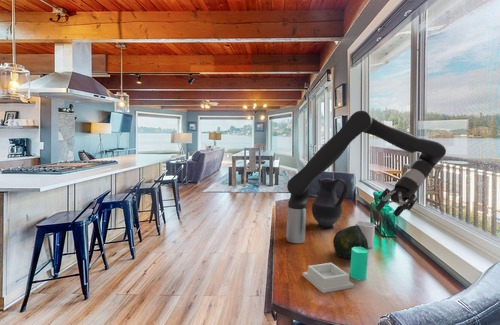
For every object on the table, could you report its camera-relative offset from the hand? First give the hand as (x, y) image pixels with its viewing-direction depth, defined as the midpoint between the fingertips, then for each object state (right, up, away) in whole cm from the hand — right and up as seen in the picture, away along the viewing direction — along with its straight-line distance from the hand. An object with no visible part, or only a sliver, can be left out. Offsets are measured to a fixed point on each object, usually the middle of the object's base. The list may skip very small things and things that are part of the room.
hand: (386, 212), depth 113 cm
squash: (-8, -23, +17) cm, 30 cm away
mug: (+4, -22, +33) cm, 40 cm away
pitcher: (-7, -19, +58) cm, 62 cm away
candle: (-12, -24, -2) cm, 27 cm away
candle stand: (-25, -24, -7) cm, 35 cm away
